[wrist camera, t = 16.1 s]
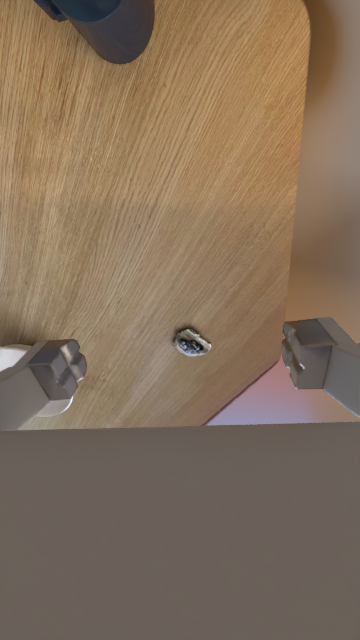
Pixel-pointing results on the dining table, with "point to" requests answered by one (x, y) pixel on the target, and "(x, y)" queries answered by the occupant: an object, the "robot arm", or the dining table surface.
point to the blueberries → (191, 343)
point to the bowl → (9, 357)
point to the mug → (107, 24)
